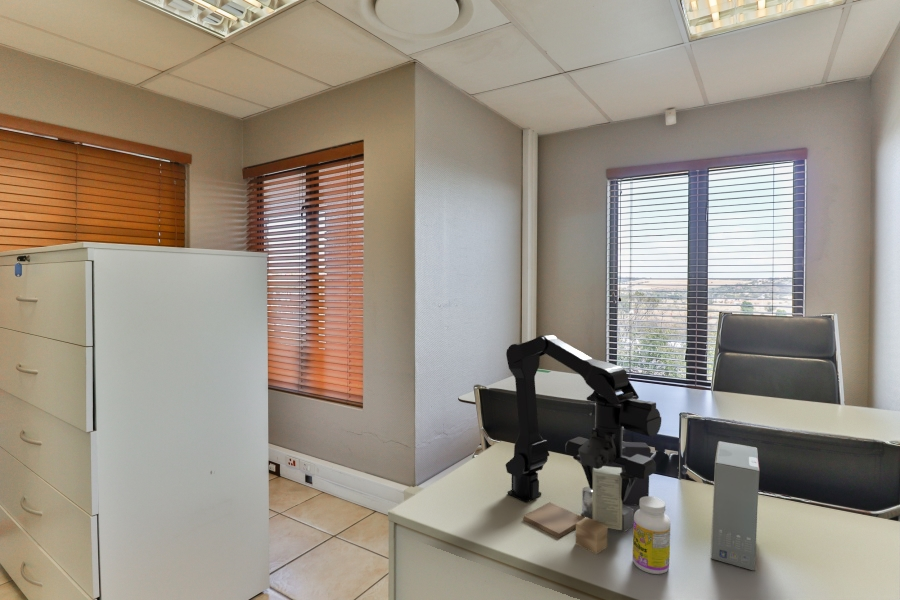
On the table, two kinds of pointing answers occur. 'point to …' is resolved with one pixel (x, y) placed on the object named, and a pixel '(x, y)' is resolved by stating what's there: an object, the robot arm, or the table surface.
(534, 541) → the table surface
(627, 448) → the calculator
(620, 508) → the skincare box
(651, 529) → the supplement bottle
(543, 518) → the walnut board
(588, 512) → the metal canister
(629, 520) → the gray cube
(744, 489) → the hard drive box
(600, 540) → the oak block
